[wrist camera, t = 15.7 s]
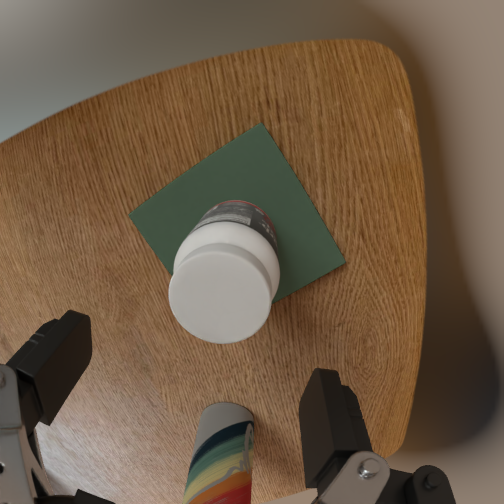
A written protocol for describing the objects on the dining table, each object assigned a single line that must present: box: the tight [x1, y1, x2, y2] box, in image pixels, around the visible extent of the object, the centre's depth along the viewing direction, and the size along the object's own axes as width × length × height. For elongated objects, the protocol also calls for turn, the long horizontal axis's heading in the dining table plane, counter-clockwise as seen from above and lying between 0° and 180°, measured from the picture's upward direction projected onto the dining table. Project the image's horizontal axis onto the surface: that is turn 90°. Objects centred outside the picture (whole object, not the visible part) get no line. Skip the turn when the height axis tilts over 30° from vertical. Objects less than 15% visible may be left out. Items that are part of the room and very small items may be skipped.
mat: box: [129, 123, 346, 304], centre depth 24 cm, size 12×12×1 cm
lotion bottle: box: [182, 402, 254, 504], centre depth 21 cm, size 6×6×20 cm
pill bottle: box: [169, 200, 280, 344], centre depth 19 cm, size 6×6×10 cm
